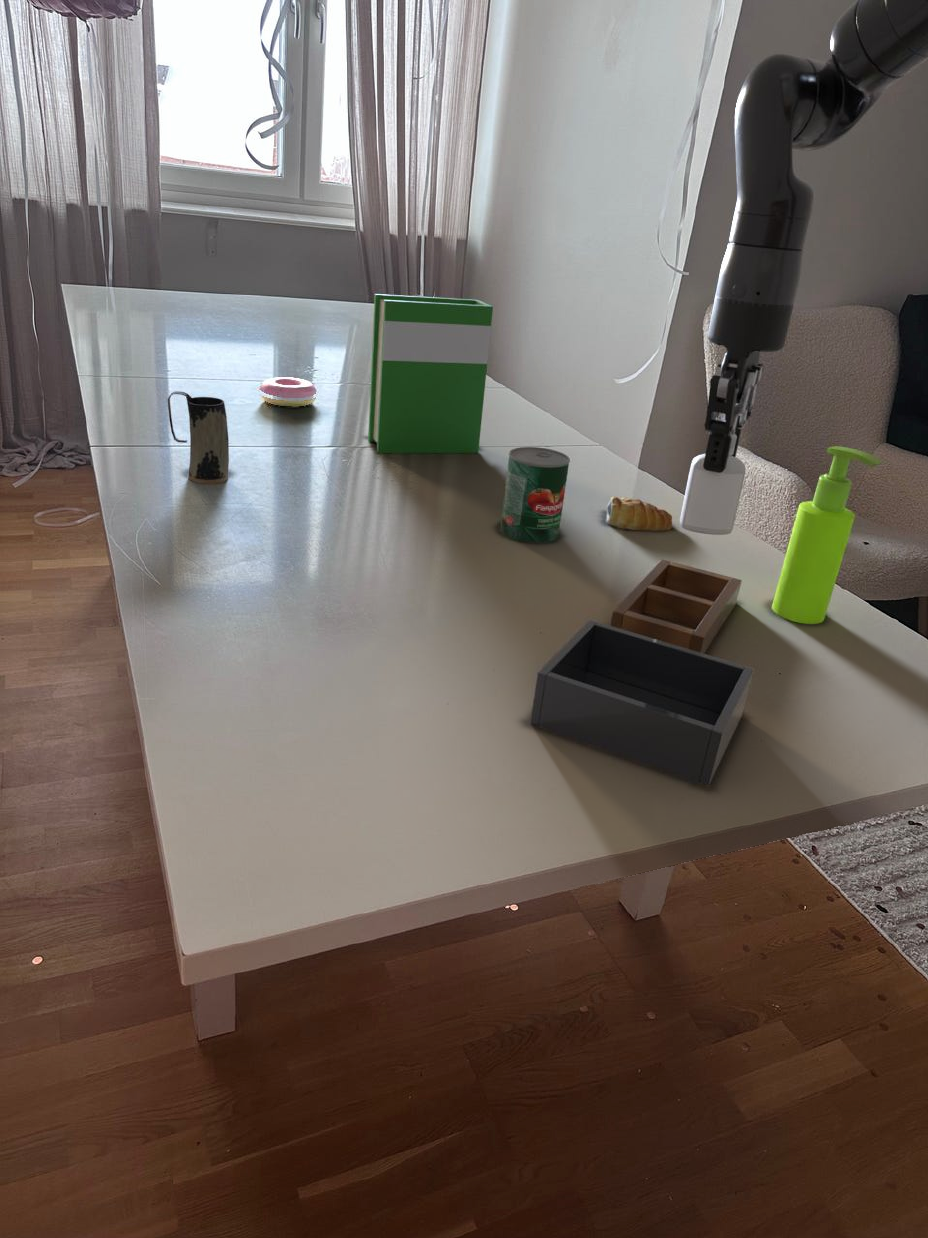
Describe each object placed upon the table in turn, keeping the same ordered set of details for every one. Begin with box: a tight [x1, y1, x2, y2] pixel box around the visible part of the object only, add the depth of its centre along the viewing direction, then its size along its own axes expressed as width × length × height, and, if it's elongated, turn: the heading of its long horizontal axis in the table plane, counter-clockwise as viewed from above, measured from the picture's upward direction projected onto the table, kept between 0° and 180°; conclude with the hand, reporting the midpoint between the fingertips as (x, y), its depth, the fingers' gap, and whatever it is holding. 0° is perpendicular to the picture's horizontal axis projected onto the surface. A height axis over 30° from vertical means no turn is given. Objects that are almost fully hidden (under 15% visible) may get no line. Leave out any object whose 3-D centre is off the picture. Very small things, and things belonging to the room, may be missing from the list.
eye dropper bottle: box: [679, 420, 747, 536], centre depth 96 cm, size 4×6×12 cm
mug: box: [167, 390, 230, 485], centre depth 126 cm, size 8×6×12 cm
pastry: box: [605, 496, 673, 532], centre depth 126 cm, size 9×7×4 cm
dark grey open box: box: [529, 619, 755, 788], centre depth 78 cm, size 16×13×6 cm
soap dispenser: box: [771, 445, 884, 625], centre depth 99 cm, size 6×7×20 cm
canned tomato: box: [500, 446, 571, 544], centre depth 117 cm, size 8×8×11 cm
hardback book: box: [367, 293, 494, 454], centre depth 149 cm, size 18×7×24 cm, turn 108°
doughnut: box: [259, 376, 318, 408], centre depth 172 cm, size 11×11×4 cm
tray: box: [609, 558, 742, 654], centre depth 99 cm, size 10×18×4 cm, turn 152°
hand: (718, 465), depth 95 cm, fingers closed on eye dropper bottle, 4 cm apart
